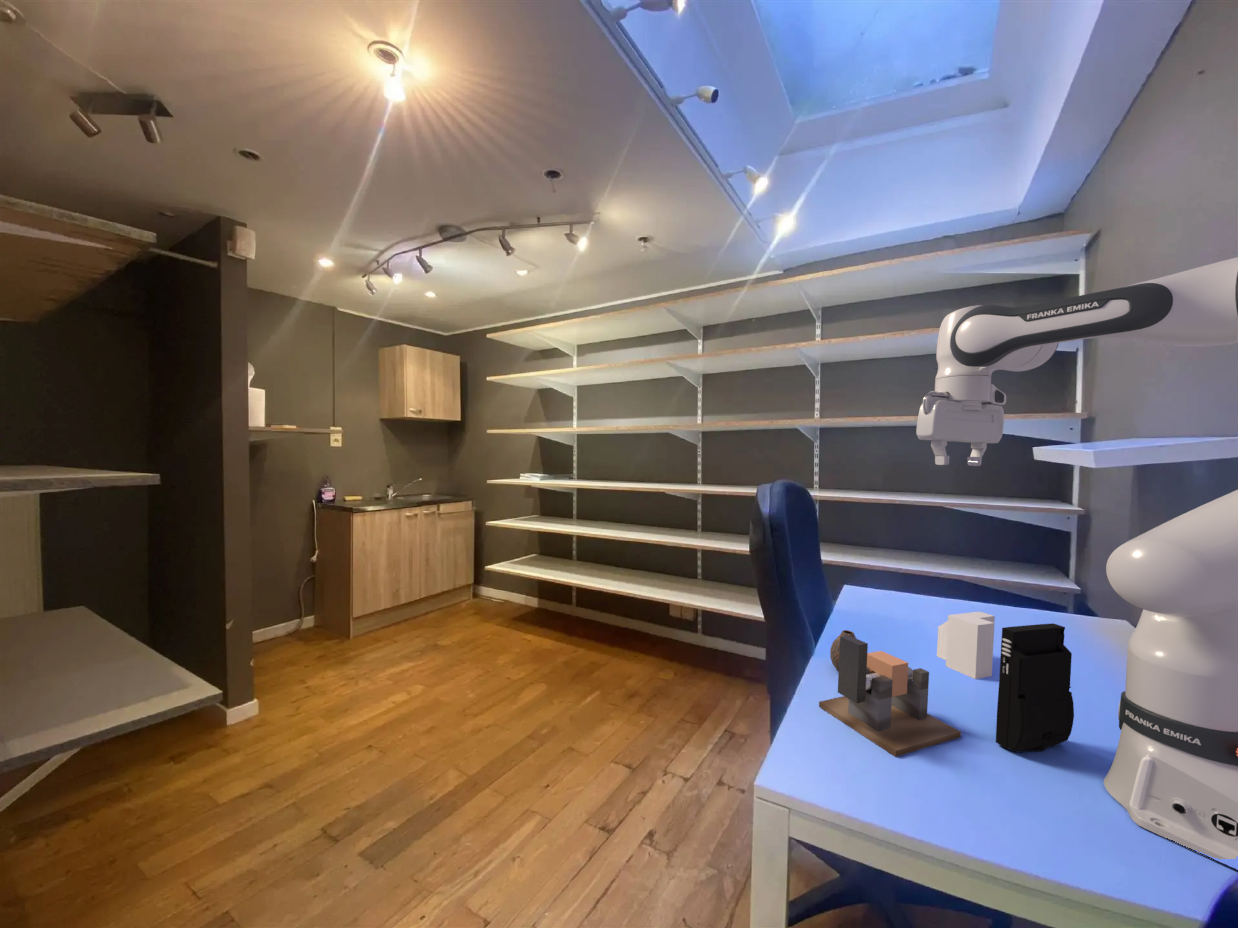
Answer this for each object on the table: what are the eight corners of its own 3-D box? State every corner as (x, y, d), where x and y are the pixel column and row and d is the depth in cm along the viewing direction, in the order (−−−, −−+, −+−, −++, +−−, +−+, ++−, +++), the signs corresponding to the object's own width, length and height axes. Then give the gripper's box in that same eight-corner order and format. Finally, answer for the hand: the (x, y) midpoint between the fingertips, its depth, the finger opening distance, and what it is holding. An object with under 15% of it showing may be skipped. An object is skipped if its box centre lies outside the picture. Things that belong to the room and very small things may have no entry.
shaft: (918, 689, 88) (921, 634, 87) (856, 703, 82) (859, 644, 81) (898, 679, 91) (900, 626, 91) (837, 692, 85) (840, 636, 85)
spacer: (906, 693, 85) (908, 662, 85) (890, 697, 84) (892, 665, 84) (880, 679, 90) (881, 650, 90) (864, 682, 89) (865, 653, 89)
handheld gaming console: (1044, 734, 85) (1050, 621, 84) (1074, 750, 80) (1081, 631, 80) (991, 743, 82) (997, 626, 81) (1020, 760, 77) (1026, 636, 77)
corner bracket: (975, 679, 106) (977, 625, 105) (926, 657, 116) (929, 608, 116) (1007, 673, 109) (1010, 620, 109) (957, 653, 120) (960, 605, 120)
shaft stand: (960, 737, 83) (963, 682, 83) (895, 756, 77) (898, 698, 77) (879, 693, 98) (881, 646, 98) (819, 706, 92) (821, 657, 92)
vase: (831, 674, 106) (833, 635, 105) (827, 661, 112) (829, 624, 112) (866, 680, 104) (868, 639, 103) (860, 666, 110) (862, 628, 110)
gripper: (941, 388, 86) (938, 464, 87) (1012, 396, 94) (1008, 466, 94) (908, 391, 92) (905, 463, 93) (977, 399, 100) (974, 465, 100)
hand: (958, 465), depth 94 cm, fingers open, 8 cm apart
